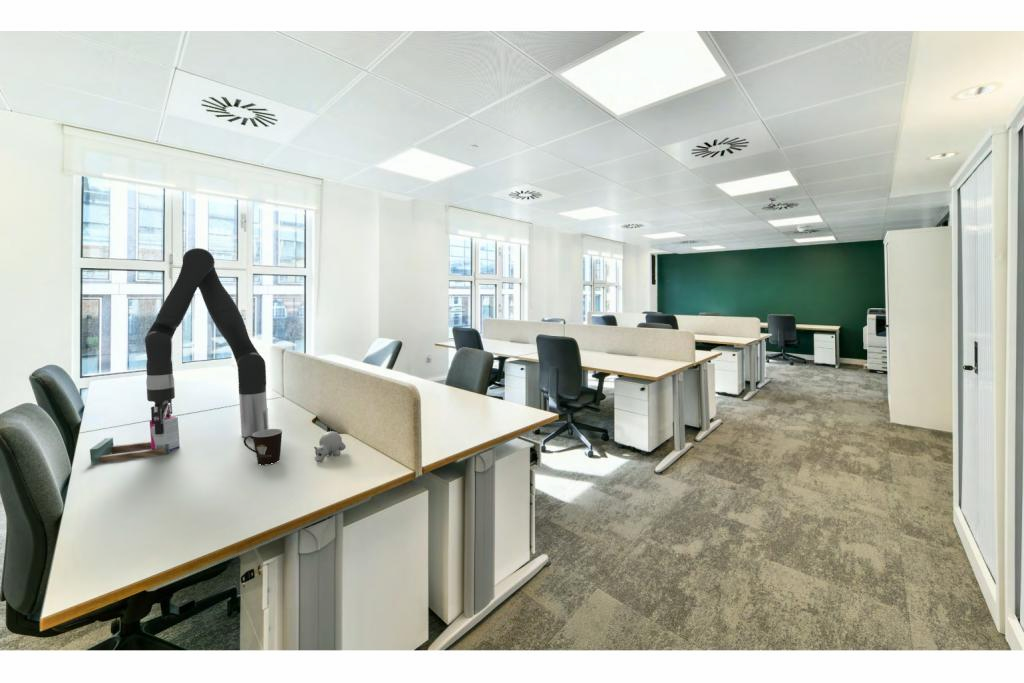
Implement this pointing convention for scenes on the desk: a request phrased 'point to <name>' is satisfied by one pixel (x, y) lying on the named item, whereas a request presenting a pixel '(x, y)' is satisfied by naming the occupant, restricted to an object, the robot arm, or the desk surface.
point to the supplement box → (166, 434)
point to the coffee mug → (266, 445)
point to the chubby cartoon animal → (329, 446)
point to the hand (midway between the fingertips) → (163, 430)
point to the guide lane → (105, 448)
